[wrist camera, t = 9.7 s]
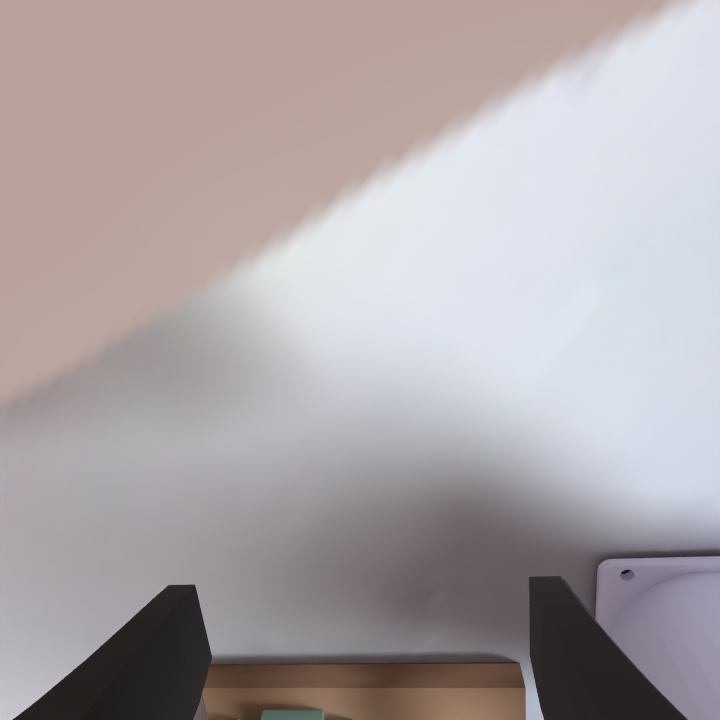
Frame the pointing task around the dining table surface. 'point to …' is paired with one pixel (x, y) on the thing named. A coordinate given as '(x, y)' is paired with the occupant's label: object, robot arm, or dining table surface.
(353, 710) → the gear board
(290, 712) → the teal gear
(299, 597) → the dining table surface
